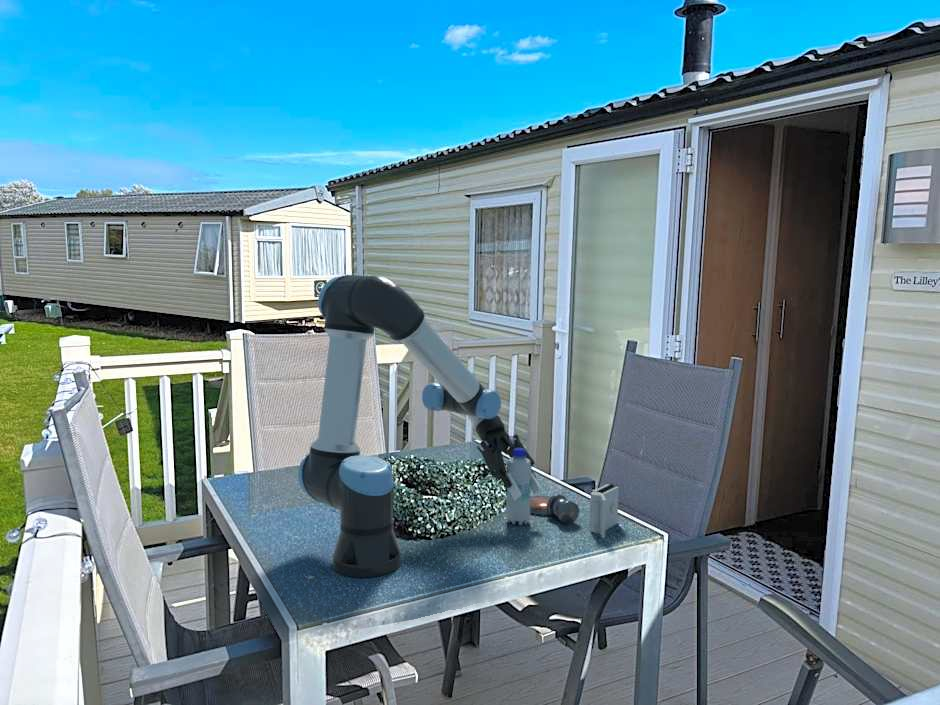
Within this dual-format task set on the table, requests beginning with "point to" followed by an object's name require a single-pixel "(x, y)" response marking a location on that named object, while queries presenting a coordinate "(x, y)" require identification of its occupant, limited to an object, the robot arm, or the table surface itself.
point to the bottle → (521, 475)
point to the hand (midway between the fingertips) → (528, 494)
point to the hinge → (604, 508)
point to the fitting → (554, 507)
